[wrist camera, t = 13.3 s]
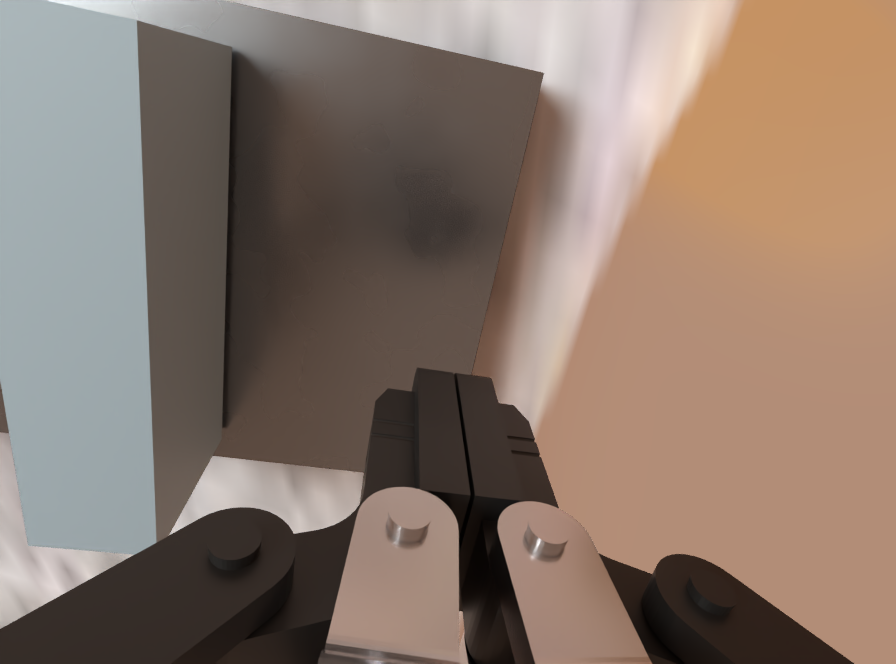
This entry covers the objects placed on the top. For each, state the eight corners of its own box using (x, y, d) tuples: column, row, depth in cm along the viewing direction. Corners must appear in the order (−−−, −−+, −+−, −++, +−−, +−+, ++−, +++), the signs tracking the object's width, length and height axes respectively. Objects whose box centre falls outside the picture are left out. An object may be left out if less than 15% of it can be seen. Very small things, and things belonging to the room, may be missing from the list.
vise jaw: (221, 438, 18) (157, 556, 13) (127, 428, 17) (28, 545, 13) (231, 47, 13) (137, 20, 9) (103, 18, 13) (-69, -25, 8)
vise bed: (442, 448, 21) (455, 598, 15) (-306, 359, 18) (-705, 505, 11) (528, 75, 16) (608, 61, 10) (-530, -164, 12) (-1541, -444, 6)
